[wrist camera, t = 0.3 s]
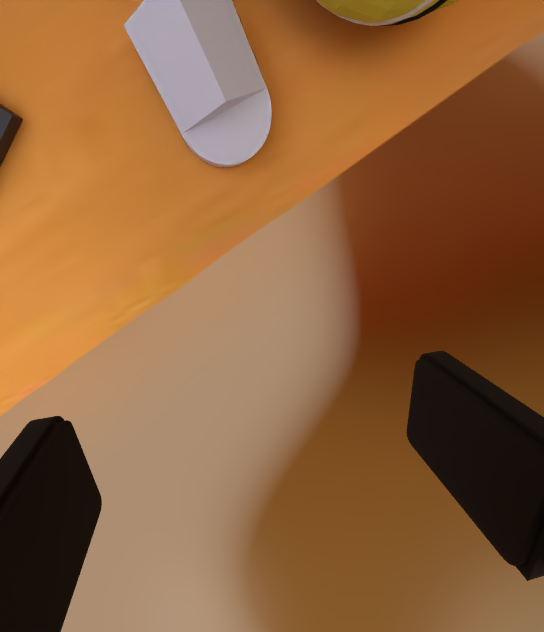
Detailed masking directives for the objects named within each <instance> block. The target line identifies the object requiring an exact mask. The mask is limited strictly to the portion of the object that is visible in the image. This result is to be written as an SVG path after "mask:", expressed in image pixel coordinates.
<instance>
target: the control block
mask: <svg viewBox="0 0 544 632" xmlns="http://www.w3.org/2000/svg"><path fill="white" fill-rule="evenodd" d="M21 122H22V118H20V117H19V116H17V115H16V114H14V113H13V112H11V111H10V110H8V109H7V108H5V107H4V106H2V105H1V104H0V166H1V164H2V161H3V159H4V157H5V155H6V153H7V151H8V149H9V147H10V145H11V143H12V141H13V138H14V136H15V134H16V132H17V130H18V128H19V126H20V124H21Z"/></svg>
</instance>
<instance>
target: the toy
mask: <svg viewBox="0 0 544 632" xmlns="http://www.w3.org/2000/svg"><path fill="white" fill-rule="evenodd" d="M316 1H317V2H318V3H319V4H320V5H321V6H323V7H324V8H326V9H327V10H329V11H330V12H332V13H333V14H335V15H336V16H338V17H340V18H343V19H345V20H348V21H350V22H353V23H356V24H362V25H369V26H388V25H399V24H403V23H406V22H410V21H413V20H416V19H419V18H421V17H423V16H424V15H426V14H428V13H430V12H432V11H434V10H436V9H439V8H442V7H445V6H448V5H451V4H453V3H455V2H457V1H458V0H316Z"/></svg>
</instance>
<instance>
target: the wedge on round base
mask: <svg viewBox="0 0 544 632" xmlns="http://www.w3.org/2000/svg"><path fill="white" fill-rule="evenodd" d="M123 26H124V27H125V29H126V31H127V33H128V35H129V37H130V39H131V41H132V43H133V44H134V46H135V48H136V50H137V52H138V54H139V56H140V58H141V59H142V61H143V63H144V65H145V67H146V69H147V71H148V73H149V74H150V76H151V78H152V80H153V82H154V84H155V86H156V88H157V89H158V91H159V93H160V95H161V97H162V99H163V101H164V103H165V104H166V106H167V108H168V110H169V112H170V114H171V116H172V118H173V119H174V121H175V123H176V125H177V127H178V129H179V131H180V133H181V135H182V137H183V139H184V141H185V142H186V144H187V146H188V147H189V148H190V150H191V151H192V152H193V153H194V154H195V155H196V156H197V157H199V158H200V159H201V160H203V161H205V162H206V163H208V164H211V165H214V166H217V167H233V166H237V165H240V164H242V163H244V162H246V161H247V160H248V159H250V158H251V157H252V156H253V155H255V154H256V153H257V152H258V151H259V149H260V148H261V147H262V145H263V144H264V142H265V140H266V138H267V136H268V133H269V130H270V126H271V118H272V109H271V101H270V96H269V93H268V90H267V87H266V85H265V82H264V80H263V77H262V75H261V72H260V70H259V67H258V65H257V62H256V60H255V57H254V55H253V52H252V50H251V47H250V45H249V42H248V40H247V37H246V34H245V32H244V29H243V27H242V24H241V22H240V19H239V17H238V14H237V12H236V9H235V7H234V4H233V2H232V0H144V1H143V2H142V3H141V4H140V6H139V7H138V8H137V9H136V11H135V12H134V13H133V14H132V15H131V17H130V18H129V19H128V20H127V22H126V23H125V24H124V25H123Z"/></svg>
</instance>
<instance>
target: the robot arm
mask: <svg viewBox="0 0 544 632" xmlns="http://www.w3.org/2000/svg"><path fill="white" fill-rule="evenodd" d="M407 437H408V440H409V442H410V444H411V445H412V446H413V448H414V449H415V450H416V451H417V452H418V454H419V455H420V456H421V457H422V459H423V460H424V461H425V462H426V464H427V465H428V466H429V467H430V468H431V470H432V471H433V472H434V473H435V475H436V476H437V477H438V478H439V480H440V481H441V482H442V483H443V485H444V486H445V487H446V488H447V490H448V491H449V492H450V493H451V495H452V496H453V497H454V498H455V499H456V501H457V502H458V503H459V504H460V506H461V507H462V508H463V509H464V510H465V512H466V513H467V514H468V515H469V517H470V518H471V519H472V520H473V522H474V523H475V524H476V525H477V527H478V528H479V529H480V530H481V532H482V533H483V534H484V535H485V537H486V538H487V539H488V540H489V541H490V543H491V544H492V545H493V546H494V548H495V549H496V550H497V551H498V552H499V554H500V555H501V556H502V557H503V559H504V560H505V561H507V562H508V563H509V564H511V565H513V566H516V567H517V569H518V570H519V571H520V572H521V574H522V575H523V576H524V577H525V578H526V580H527V581H528V580H531V579H534V578H538V577H541V576H544V417H542V416H541V415H539V414H538V413H536V412H535V411H533V410H532V409H530V408H529V407H527V406H526V405H524V404H523V403H521V402H520V401H518V400H517V399H515V398H514V397H512V396H511V395H509V394H508V393H506V392H505V391H503V390H502V389H500V388H499V387H497V386H496V385H494V384H493V383H491V382H490V381H488V380H487V379H485V378H484V377H482V376H481V375H479V374H478V373H476V372H475V371H474V370H472V369H471V368H469V367H468V366H466V365H465V364H463V363H462V362H460V361H459V360H457V359H456V358H454V357H453V356H451V355H450V354H448V353H447V352H444V351H437V352H431V353H425V354H423V355H421V357H420V359H419V360H417V361H416V364H415V370H414V378H413V385H412V393H411V401H410V410H409V418H408V425H407ZM101 503H102V502H101V495H100V493H99V490H98V488H97V485H96V483H95V480H94V478H93V475H92V473H91V470H90V468H89V465H88V463H87V460H86V458H85V455H84V453H83V450H82V448H81V445H80V443H79V440H78V438H77V435H76V433H75V430H74V428H73V425H72V423H71V422H70V421H64V419H63V418H62V417H60V416H55V417H49V418H43V419H37V420H33V421H30V422H29V423H28V424H27V425H26V426H25V428H24V429H23V430H22V432H21V433H20V434H19V436H18V437H17V438H16V439H15V441H14V442H13V443H12V444H11V446H10V447H9V448H8V450H7V451H6V452H5V453H4V455H3V456H2V457H1V459H0V632H61V629H62V626H63V623H64V620H65V617H66V614H67V611H68V608H69V605H70V602H71V599H72V596H73V593H74V589H75V587H76V584H77V581H78V577H79V575H80V572H81V569H82V565H83V563H84V560H85V556H86V554H87V551H88V547H89V545H90V542H91V538H92V536H93V533H94V530H95V526H96V524H97V520H98V518H99V514H100V511H101V505H102V504H101Z"/></svg>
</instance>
